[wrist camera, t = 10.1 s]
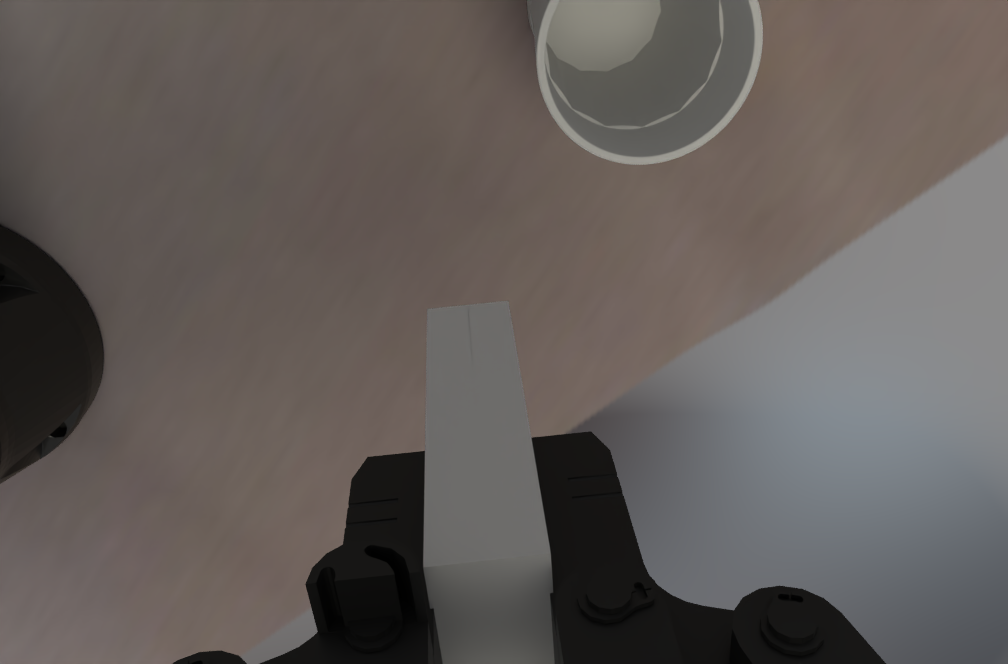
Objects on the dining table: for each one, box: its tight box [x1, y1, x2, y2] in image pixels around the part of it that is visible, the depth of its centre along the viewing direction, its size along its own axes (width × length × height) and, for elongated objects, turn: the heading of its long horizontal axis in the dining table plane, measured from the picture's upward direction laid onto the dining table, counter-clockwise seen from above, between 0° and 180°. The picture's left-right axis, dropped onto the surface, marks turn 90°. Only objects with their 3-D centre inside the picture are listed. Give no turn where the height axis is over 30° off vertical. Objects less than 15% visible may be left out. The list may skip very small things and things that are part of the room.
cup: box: [527, 0, 763, 165], centre depth 35 cm, size 8×8×12 cm
